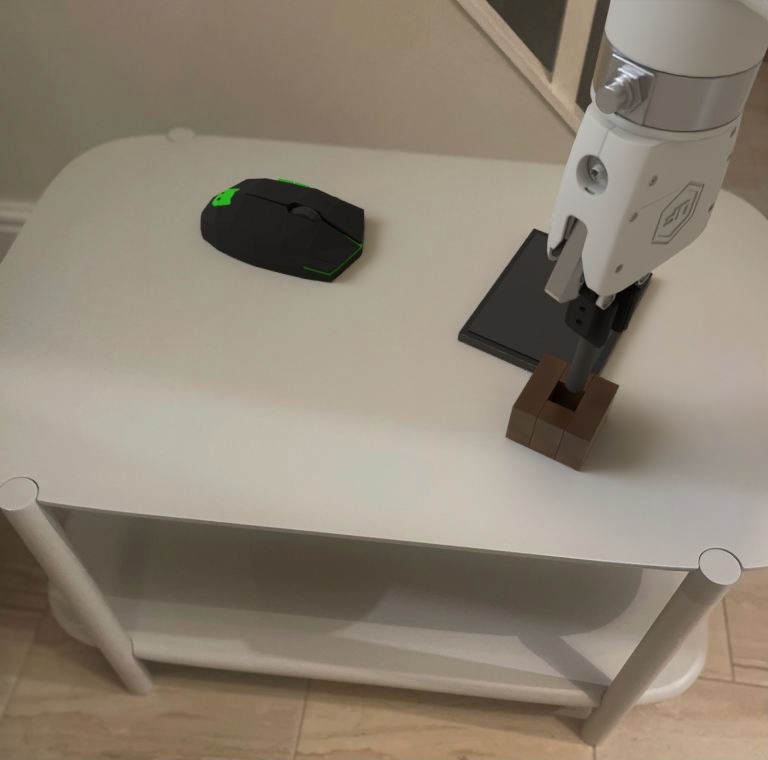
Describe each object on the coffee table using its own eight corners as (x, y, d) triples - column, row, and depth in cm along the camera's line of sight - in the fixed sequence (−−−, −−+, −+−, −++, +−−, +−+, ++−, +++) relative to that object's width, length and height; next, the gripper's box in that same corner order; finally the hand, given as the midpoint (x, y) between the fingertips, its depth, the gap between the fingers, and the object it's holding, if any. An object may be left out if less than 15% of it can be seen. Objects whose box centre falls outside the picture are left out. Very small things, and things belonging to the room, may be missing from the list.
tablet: (650, 280, 74) (653, 272, 73) (587, 397, 65) (589, 389, 64) (532, 234, 77) (533, 226, 76) (457, 339, 69) (458, 332, 68)
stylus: (587, 382, 59) (628, 263, 49) (580, 396, 58) (621, 277, 49) (569, 375, 59) (606, 255, 50) (562, 388, 58) (598, 269, 49)
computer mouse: (233, 176, 82) (228, 143, 79) (383, 212, 79) (384, 179, 76) (181, 246, 75) (172, 213, 72) (342, 288, 72) (341, 256, 69)
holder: (607, 415, 64) (619, 384, 61) (578, 471, 60) (590, 442, 57) (536, 384, 66) (545, 352, 63) (504, 436, 62) (512, 406, 59)
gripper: (630, 168, 34) (557, 420, 49) (827, 52, 41) (710, 305, 55) (507, 95, 38) (472, 349, 52) (705, -1, 44) (626, 249, 58)
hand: (595, 326), depth 53 cm, fingers closed on stylus, 1 cm apart
